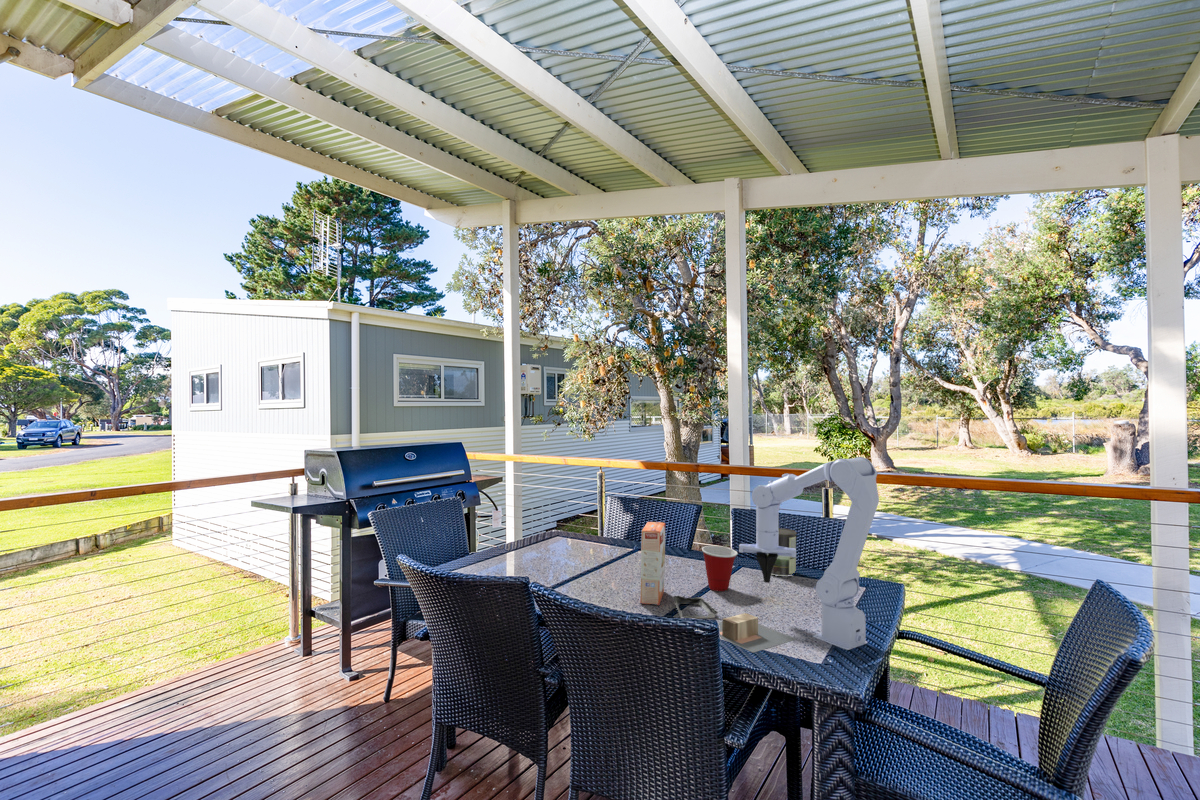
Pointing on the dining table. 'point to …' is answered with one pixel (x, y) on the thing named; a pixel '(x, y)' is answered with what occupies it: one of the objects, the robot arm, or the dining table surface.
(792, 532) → the coffee can
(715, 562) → the plastic cup
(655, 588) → the cracker box
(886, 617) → the dining table surface
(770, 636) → the rubber mat
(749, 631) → the maple block
